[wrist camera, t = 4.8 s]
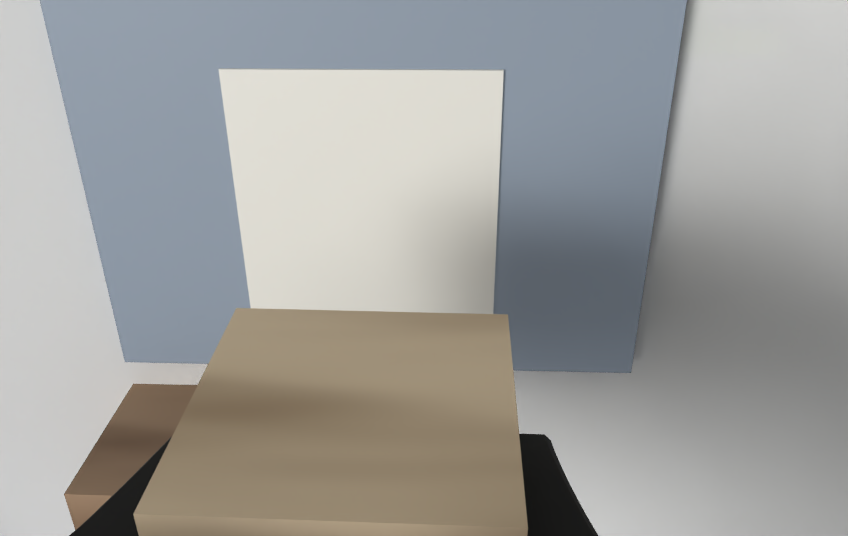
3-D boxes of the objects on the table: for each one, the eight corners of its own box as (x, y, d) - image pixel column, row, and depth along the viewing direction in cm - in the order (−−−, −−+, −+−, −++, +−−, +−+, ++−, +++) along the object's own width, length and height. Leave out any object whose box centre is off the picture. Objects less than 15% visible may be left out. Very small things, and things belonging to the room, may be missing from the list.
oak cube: (495, 513, 15) (507, 756, 11) (264, 505, 15) (190, 742, 11) (507, 314, 12) (528, 527, 9) (236, 308, 13) (133, 514, 9)
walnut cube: (298, 498, 25) (266, 621, 21) (160, 494, 25) (103, 616, 21) (284, 385, 22) (245, 499, 18) (134, 382, 23) (64, 494, 19)
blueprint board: (626, 359, 21) (631, 375, 21) (133, 349, 22) (123, 364, 21) (682, -21, 16) (690, -16, 16) (49, -20, 17) (33, -16, 16)
